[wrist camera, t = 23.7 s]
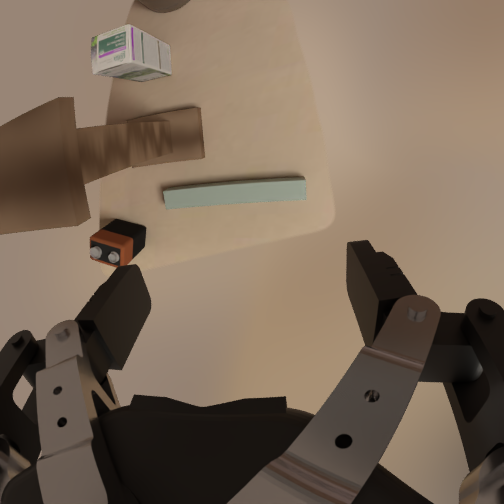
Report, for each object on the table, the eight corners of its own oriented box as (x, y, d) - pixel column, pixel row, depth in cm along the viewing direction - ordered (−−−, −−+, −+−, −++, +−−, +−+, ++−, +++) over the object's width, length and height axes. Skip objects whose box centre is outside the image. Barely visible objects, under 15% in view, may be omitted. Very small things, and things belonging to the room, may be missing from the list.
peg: (169, 187, 48) (163, 191, 45) (304, 176, 45) (305, 180, 42) (172, 204, 49) (166, 209, 46) (305, 195, 46) (306, 199, 43)
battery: (115, 217, 51) (85, 238, 42) (147, 226, 51) (121, 249, 42) (114, 238, 52) (86, 262, 43) (145, 247, 53) (120, 273, 43)
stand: (132, 120, 43) (-32, 146, 14) (200, 108, 41) (58, 97, 12) (137, 165, 46) (-14, 236, 17) (205, 157, 45) (78, 225, 16)
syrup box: (170, 44, 37) (128, 20, 24) (172, 76, 39) (129, 62, 26) (139, 52, 38) (90, 35, 25) (141, 83, 40) (90, 75, 27)
